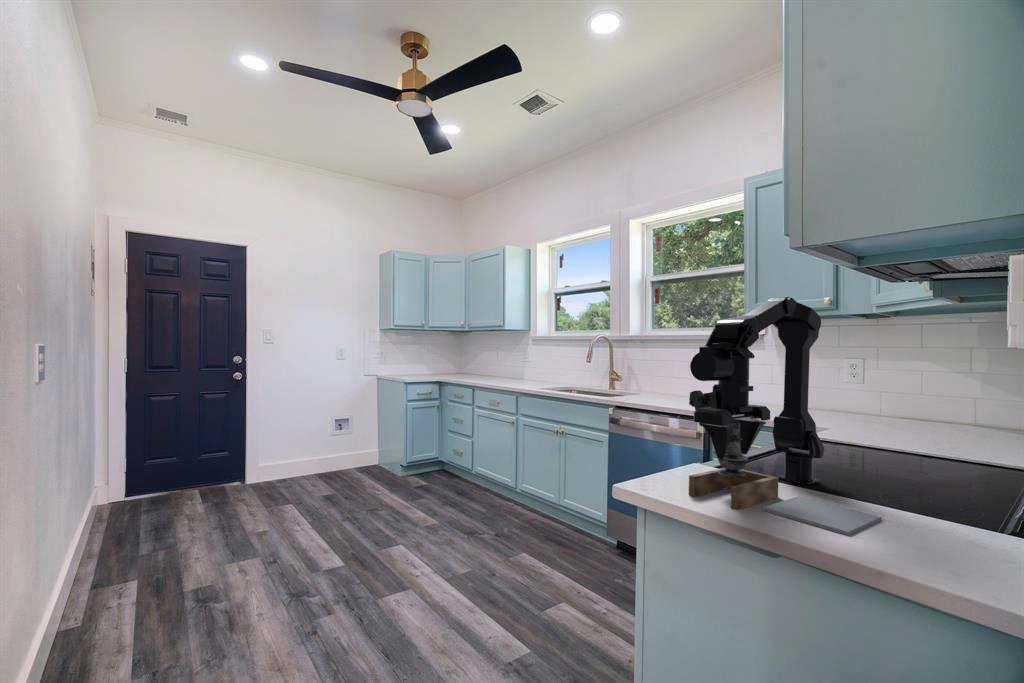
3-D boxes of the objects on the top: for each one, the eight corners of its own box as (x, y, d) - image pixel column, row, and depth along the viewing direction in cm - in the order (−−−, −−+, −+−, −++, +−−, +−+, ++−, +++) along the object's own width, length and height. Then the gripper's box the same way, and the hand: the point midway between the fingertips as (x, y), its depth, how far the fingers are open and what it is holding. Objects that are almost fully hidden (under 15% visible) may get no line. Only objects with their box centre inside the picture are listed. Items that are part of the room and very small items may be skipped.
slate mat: (799, 498, 98) (799, 495, 98) (881, 519, 86) (881, 516, 86) (762, 510, 90) (763, 507, 90) (848, 535, 78) (848, 531, 78)
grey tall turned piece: (737, 470, 101) (737, 413, 101) (754, 477, 95) (755, 417, 96) (710, 470, 101) (711, 413, 101) (726, 478, 95) (727, 417, 95)
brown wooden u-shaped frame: (730, 484, 107) (730, 466, 107) (778, 497, 98) (778, 477, 98) (688, 494, 98) (689, 475, 98) (736, 509, 90) (737, 488, 90)
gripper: (723, 377, 110) (722, 444, 110) (671, 378, 100) (670, 453, 99) (772, 380, 101) (771, 454, 101) (721, 382, 91) (719, 465, 90)
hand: (732, 456), depth 98 cm, fingers closed on grey tall turned piece, 8 cm apart
